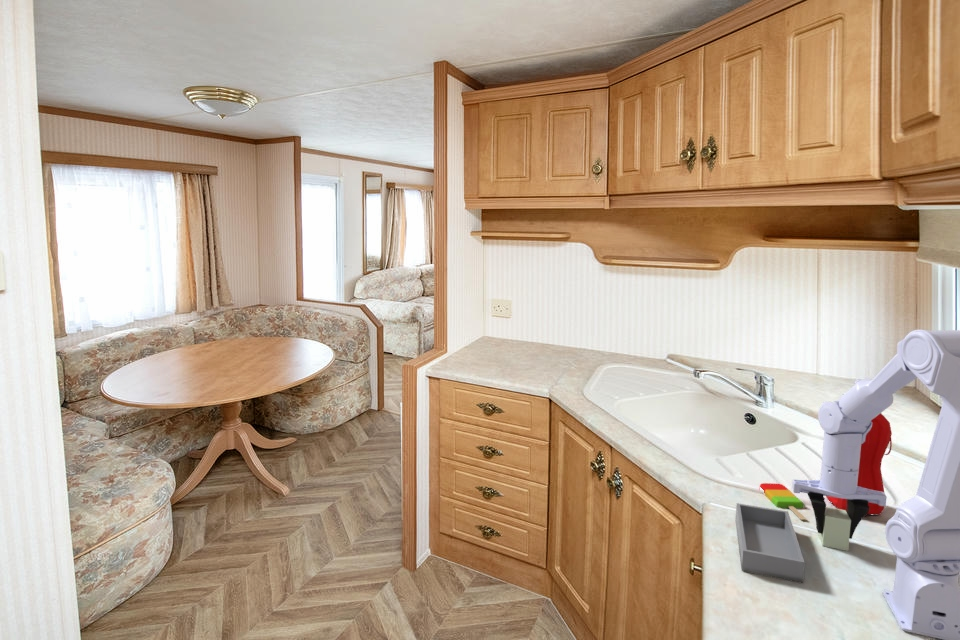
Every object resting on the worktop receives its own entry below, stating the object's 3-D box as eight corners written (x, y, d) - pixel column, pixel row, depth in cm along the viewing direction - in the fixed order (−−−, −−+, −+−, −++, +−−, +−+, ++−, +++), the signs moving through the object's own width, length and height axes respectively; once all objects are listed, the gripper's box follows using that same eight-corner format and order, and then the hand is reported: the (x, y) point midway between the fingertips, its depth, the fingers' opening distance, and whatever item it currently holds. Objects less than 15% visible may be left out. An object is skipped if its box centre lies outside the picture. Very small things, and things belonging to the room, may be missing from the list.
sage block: (848, 550, 97) (851, 520, 96) (822, 546, 99) (825, 516, 98) (842, 539, 101) (845, 510, 100) (818, 535, 102) (821, 506, 102)
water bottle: (899, 519, 108) (912, 401, 105) (843, 517, 109) (854, 400, 106) (870, 497, 117) (881, 389, 114) (818, 496, 118) (828, 388, 115)
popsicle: (781, 490, 122) (782, 482, 122) (818, 524, 107) (818, 515, 107) (757, 490, 123) (757, 482, 122) (790, 523, 108) (790, 515, 108)
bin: (802, 583, 88) (804, 562, 87) (741, 570, 92) (743, 550, 91) (786, 529, 105) (788, 511, 104) (735, 520, 108) (736, 503, 108)
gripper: (880, 462, 99) (873, 530, 100) (791, 451, 104) (786, 515, 106) (893, 478, 92) (885, 549, 94) (797, 465, 98) (792, 533, 100)
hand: (833, 533), depth 100 cm, fingers closed on sage block, 4 cm apart
